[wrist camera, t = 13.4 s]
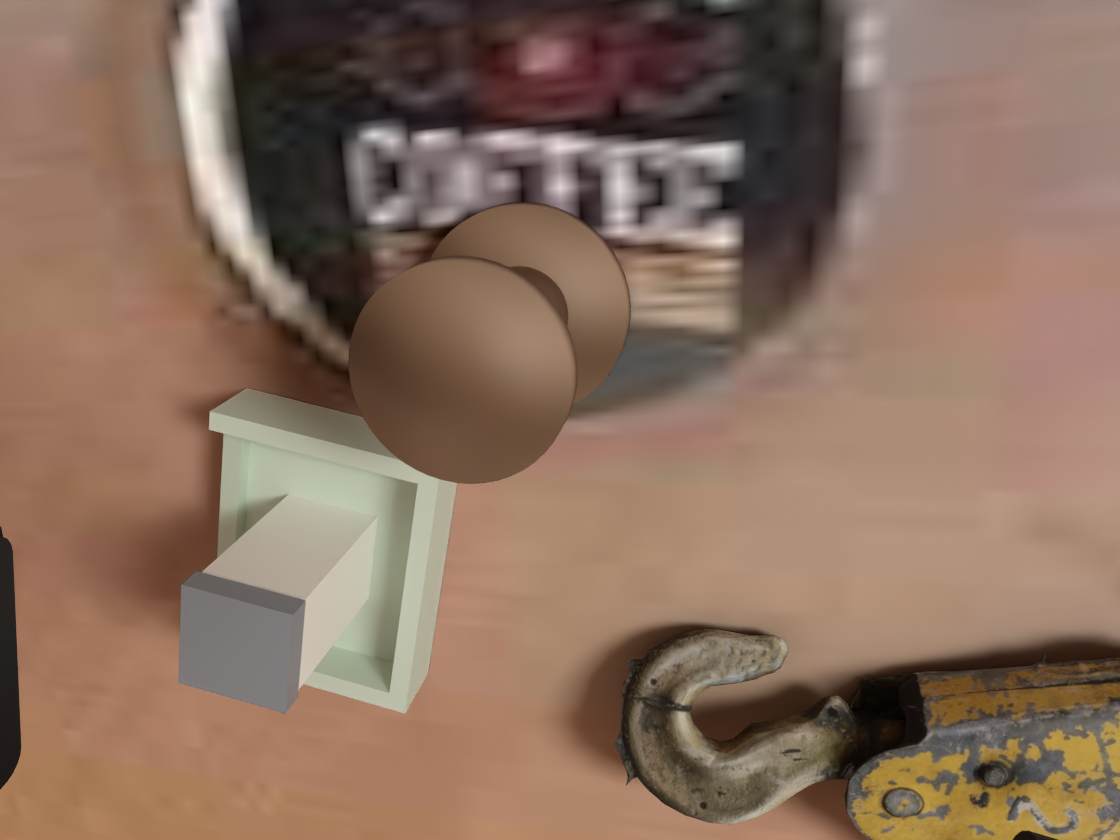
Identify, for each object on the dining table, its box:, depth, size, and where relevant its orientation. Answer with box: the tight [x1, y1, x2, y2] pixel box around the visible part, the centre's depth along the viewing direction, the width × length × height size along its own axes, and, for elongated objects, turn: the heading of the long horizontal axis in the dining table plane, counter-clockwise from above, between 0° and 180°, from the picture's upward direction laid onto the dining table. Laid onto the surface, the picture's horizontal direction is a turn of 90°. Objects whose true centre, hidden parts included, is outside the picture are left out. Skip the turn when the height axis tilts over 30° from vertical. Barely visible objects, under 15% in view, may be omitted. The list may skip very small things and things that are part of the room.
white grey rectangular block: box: [179, 494, 378, 713], centre depth 39 cm, size 4×4×8 cm
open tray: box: [209, 388, 457, 713], centre depth 42 cm, size 12×10×3 cm
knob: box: [348, 202, 631, 484], centre depth 34 cm, size 8×8×9 cm
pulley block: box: [615, 629, 1120, 840], centre depth 39 cm, size 14×6×30 cm
